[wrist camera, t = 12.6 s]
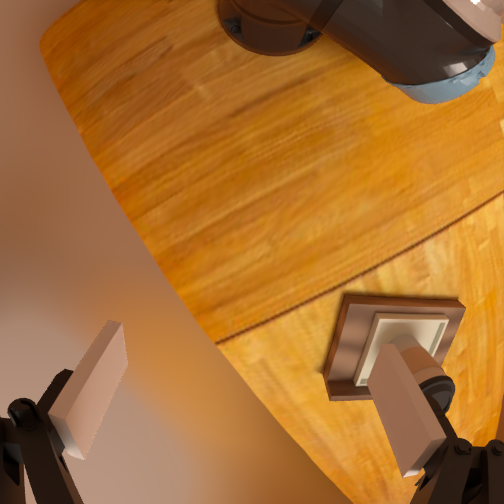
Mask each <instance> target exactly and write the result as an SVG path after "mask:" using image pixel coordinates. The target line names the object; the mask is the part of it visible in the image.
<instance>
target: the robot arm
mask: <svg viewBox="0 0 504 504" xmlns="http://www.w3.org/2000/svg"><path fill="white" fill-rule="evenodd" d="M218 9H219V16H220V19H221V23H222V25H223V28H224V29H225V31H226V33H227V34H228V35H229V36H230V38H231V39H232V40H233V41H235V42H236V43H237V44H238V45H240V46H241V47H243V48H245V49H247V50H249V51H251V52H254V53H257V54H261V55H266V56H287V55H292V54H296V53H299V52H301V51H303V50H305V49H307V48H309V47H310V46H312V45H313V44H314V43H315V42H316V41H317V40H318V39H319V38H320V37H321V35H322V34H324V35H326V36H327V37H329V38H330V39H332V40H333V41H335V42H337V43H338V44H340V45H341V46H342V47H344V48H345V49H347V50H348V51H350V52H351V53H353V54H354V55H355V56H357V57H358V58H360V59H361V60H362V61H364V62H365V63H366V64H368V65H369V66H370V67H372V68H373V69H374V70H376V71H377V72H378V73H379V74H381V76H382V78H383V79H384V80H385V81H386V82H387V83H389V84H391V85H393V86H395V87H397V88H398V89H400V90H401V91H402V92H403V93H405V94H406V95H407V96H408V97H410V98H411V99H413V100H415V101H418V102H420V103H424V104H438V103H444V102H447V101H450V100H453V99H455V98H458V97H460V96H462V95H463V94H465V93H467V92H469V91H470V90H471V89H473V88H474V87H475V86H477V85H478V84H479V79H480V78H482V77H486V76H487V74H488V73H489V72H490V70H491V68H492V66H493V64H494V61H495V51H494V48H493V44H495V43H496V42H498V41H499V40H500V39H501V18H502V16H503V15H504V0H219V7H218ZM127 366H128V362H127V356H126V348H125V341H124V333H123V325H122V322H116V321H110V320H109V321H108V322H107V323H106V325H105V326H104V327H103V329H102V330H101V332H100V333H99V335H98V336H97V338H96V339H95V341H94V342H93V343H92V345H91V346H90V348H89V350H88V351H87V352H86V354H85V355H84V357H83V358H82V360H81V361H80V363H79V364H78V366H77V367H76V369H75V371H71V370H67V369H64V370H63V371H61V372H60V373H58V374H57V375H56V376H55V378H54V379H53V381H52V383H51V384H50V385H49V387H48V388H47V390H46V391H45V393H44V394H43V396H42V397H41V399H40V400H39V402H38V403H37V405H36V404H35V402H33V401H32V400H30V399H27V398H19V399H16V400H14V401H13V402H12V403H11V404H10V405H9V407H8V412H7V413H8V415H9V417H10V419H9V418H1V417H0V504H26V501H25V487H24V465H25V469H26V472H27V475H28V479H29V482H30V485H31V488H32V491H33V494H34V497H35V500H36V503H37V504H84V503H83V501H82V499H81V497H80V495H79V493H78V491H77V488H76V486H75V484H74V482H73V479H72V477H71V475H70V473H69V470H68V468H67V465H66V463H65V460H64V458H63V456H62V452H63V450H64V448H65V449H66V451H67V452H68V454H69V455H71V456H74V457H77V458H80V459H83V460H85V458H86V456H87V454H88V451H89V449H90V446H91V444H92V442H93V439H94V437H95V435H96V432H97V430H98V428H99V426H100V424H101V421H102V419H103V417H104V415H105V412H106V410H107V408H108V406H109V404H110V401H111V399H112V397H113V395H114V393H115V391H116V389H117V386H118V384H119V382H120V380H121V378H122V375H123V374H124V372H125V369H126V367H127ZM366 383H367V386H368V388H369V391H370V393H371V396H372V398H373V401H374V403H375V406H376V408H377V411H378V413H379V416H380V418H381V421H382V424H383V426H384V429H385V431H386V434H387V437H388V439H389V442H390V445H391V447H392V450H393V453H394V455H395V458H396V461H397V464H398V466H399V469H400V472H401V475H402V478H403V477H408V476H412V475H417V474H418V473H419V471H420V470H421V469H422V468H424V470H425V474H424V475H423V476H422V477H421V478H420V479H419V481H418V482H417V483H416V484H415V486H417V485H418V484H419V485H418V488H417V490H416V492H415V494H414V496H413V498H412V500H411V502H410V504H504V443H503V442H502V441H500V440H496V439H495V440H491V441H489V442H488V444H487V445H486V446H485V447H474V446H472V445H471V443H470V442H469V441H467V440H465V439H462V438H458V437H457V435H456V433H455V431H454V429H453V428H452V426H451V424H450V422H449V420H448V419H447V417H445V413H444V412H443V410H442V408H441V406H440V405H439V403H438V401H437V400H436V399H434V398H433V397H432V396H431V395H424V394H423V392H422V391H421V389H420V387H419V385H418V384H417V382H416V380H415V378H414V377H413V375H412V373H411V372H410V370H409V368H408V366H407V365H406V363H405V361H404V360H403V358H402V356H401V355H400V353H399V351H398V350H397V348H396V346H395V345H394V344H381V347H380V349H379V352H378V355H377V357H376V360H375V363H374V365H373V368H372V370H371V373H370V375H369V378H368V380H367V382H366Z"/></svg>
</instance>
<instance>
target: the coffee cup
mask: <svg viewBox="0 0 504 504" xmlns="http://www.w3.org/2000/svg"><path fill="white" fill-rule="evenodd" d="M388 344H394V345H395V346H396V348H397V350H398V351H399V353H400V355H401V356H402V358H403V360H404V361H405V363H406V365H407V366H408V368H409V370H410V372H411V373H412V375H413V377H414V378H415V380H416V382H417V384H418V385H419V387H420V389H421V391H422V392H423V394H424V395H431V396H432V397H433V398H434V399H436V400H437V401H438V403H439V405H440V406H441V408H442V410H443V412H444V413H446V412H447V411H448V410H449V407H450V404H451V402H452V398H453V396H454V393H455V385H454V383H453V380H452V379H451V378H450V377H448V376H447V375H446V374H445V372H444V370H443V369H442V368H441V367H440V365H439V364H438V363H437V362H436V361H435V360H434V358H433V357H432V356H431V355H430V354H429V353H428V351H427V350H426V349H425V348H423V347H422V346H421V345H420V343H419V342H418V341H417V340H416V339H415V338H414V337H413V336H411V335H407V334H406V335H400V336H398V337H396V338H394V339H393V340H391V341H390V342H389V343H388Z"/></svg>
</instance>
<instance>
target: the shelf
mask: <svg viewBox="0 0 504 504" xmlns="http://www.w3.org/2000/svg"><path fill="white" fill-rule="evenodd" d="M465 309H466V307H465V306H464V305H463V304H461V303H460V302H459V301H458V300H435V299H412V298H393V297H375V296H358V295H345V296H344V300H343V304H342V308H341V312H340V316H339V320H338V324H337V327H336V331H335V335H334V338H333V342H332V345H331V349H330V352H329V356H328V359H327V362H326V366H325V369H324V372H323V378H324V382H325V385H326V389H327V393H328V397H329V401H351V400H372V399H373V398H372V396H371V393H370V391H369V388H368V386H355V384H354V381H353V379H354V376H355V373H356V371H357V368H358V365H359V362H360V360H361V357H362V354H363V351H364V348H365V345H366V342H367V339H368V336H369V333H370V330H371V327H372V324H373V321H374V318H375V314H376V313H394V314H440V315H445V316H446V317H447V318H448V319H449V321H448V324H447V326H446V329H445V331H444V334H443V336H442V338H441V341H440V343H439V345H438V348H437V350H436V352H435V354H434V357H433V358H434V360H435V361H436V362H437V363H438V364H439V365H440V367H441V365H442V363H443V361H444V359H445V357H446V354H447V352H448V350H449V348H450V346H451V343H452V341H453V339H454V337H455V334H456V332H457V330H458V327H459V325H460V322H461V320H462V317H463V315H464V312H465Z"/></svg>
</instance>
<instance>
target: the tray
mask: <svg viewBox="0 0 504 504" xmlns="http://www.w3.org/2000/svg"><path fill="white" fill-rule="evenodd" d="M448 321H449V319H448V318H447V317H446V316H445V315H440V314H394V313H376V314H375V318H374V321H373V324H372V327H371V330H370V333H369V336H368V339H367V342H366V345H365V348H364V351H363V354H362V357H361V360H360V362H359V365H358V368H357V371H356V373H355V376H354V379H353V381H354V384H355V386H367V383H366V382H367V380H368V378H369V375H370V373H371V370H372V368H373V365H374V363H375V360H376V357H377V355H378V352H379V349H380V347H381V344H388V343H389V342H390V341H391V340H393V339H394V338H396V337H398V336H400V335H406V334H407V335H411V336H413V337H414V338H415V339H416V340H417V341H418V342H419V343H420V345H421V346H422V347H423V348H425V349H426V350H427V351H428V353H429V354H430V355H431V356H432V357H434V354H435V352H436V350H437V348H438V345H439V343H440V341H441V338H442V336H443V334H444V331H445V329H446V326H447V324H448Z"/></svg>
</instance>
